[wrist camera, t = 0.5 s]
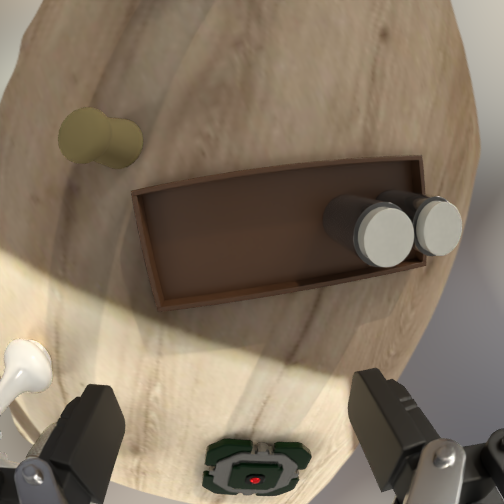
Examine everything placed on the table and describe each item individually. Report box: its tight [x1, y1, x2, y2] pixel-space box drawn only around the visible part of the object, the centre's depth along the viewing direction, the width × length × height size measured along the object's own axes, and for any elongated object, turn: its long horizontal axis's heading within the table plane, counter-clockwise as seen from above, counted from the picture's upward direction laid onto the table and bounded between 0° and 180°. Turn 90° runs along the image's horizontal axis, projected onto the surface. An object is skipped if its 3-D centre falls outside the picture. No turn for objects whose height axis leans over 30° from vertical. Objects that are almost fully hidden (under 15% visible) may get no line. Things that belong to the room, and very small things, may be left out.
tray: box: [131, 155, 426, 312], centre depth 34 cm, size 14×34×2 cm, turn 98°
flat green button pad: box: [202, 439, 312, 496], centre depth 43 cm, size 18×18×5 cm
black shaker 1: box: [323, 194, 414, 267], centre depth 30 cm, size 6×6×11 cm
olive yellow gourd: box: [58, 107, 143, 169], centre depth 26 cm, size 6×6×11 cm
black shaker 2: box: [375, 189, 462, 256], centre depth 30 cm, size 6×6×11 cm
